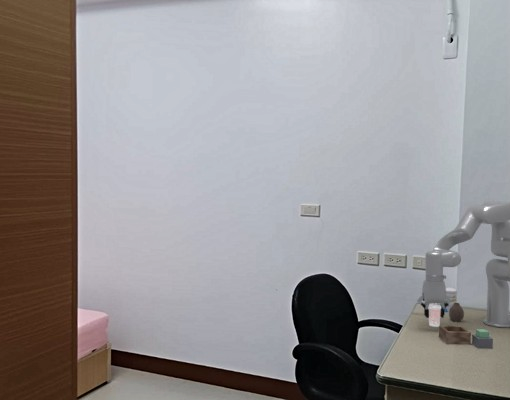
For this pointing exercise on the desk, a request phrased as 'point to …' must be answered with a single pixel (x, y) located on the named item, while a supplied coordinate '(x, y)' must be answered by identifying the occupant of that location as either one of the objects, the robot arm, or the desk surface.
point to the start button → (482, 333)
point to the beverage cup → (434, 315)
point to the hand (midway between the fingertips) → (434, 316)
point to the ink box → (452, 295)
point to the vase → (456, 312)
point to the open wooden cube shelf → (454, 335)
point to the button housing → (482, 342)
